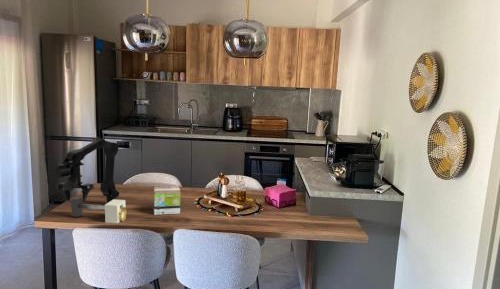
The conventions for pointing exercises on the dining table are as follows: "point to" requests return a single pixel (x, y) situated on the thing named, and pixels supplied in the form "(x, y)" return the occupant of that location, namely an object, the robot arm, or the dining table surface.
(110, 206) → the bearing block
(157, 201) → the tea box
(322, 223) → the dining table surface
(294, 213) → the dining table surface
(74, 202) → the shaft
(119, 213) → the spacer
